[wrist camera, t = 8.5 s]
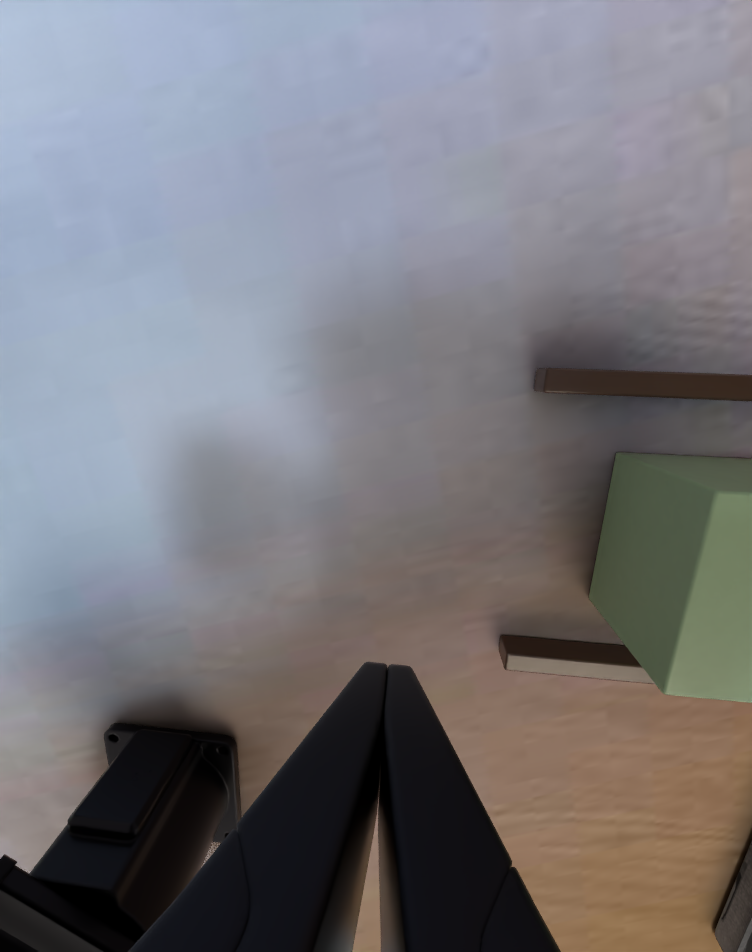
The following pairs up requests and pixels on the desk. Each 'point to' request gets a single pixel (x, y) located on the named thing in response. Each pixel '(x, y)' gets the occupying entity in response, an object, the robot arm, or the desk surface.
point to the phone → (738, 912)
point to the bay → (590, 656)
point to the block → (680, 571)
